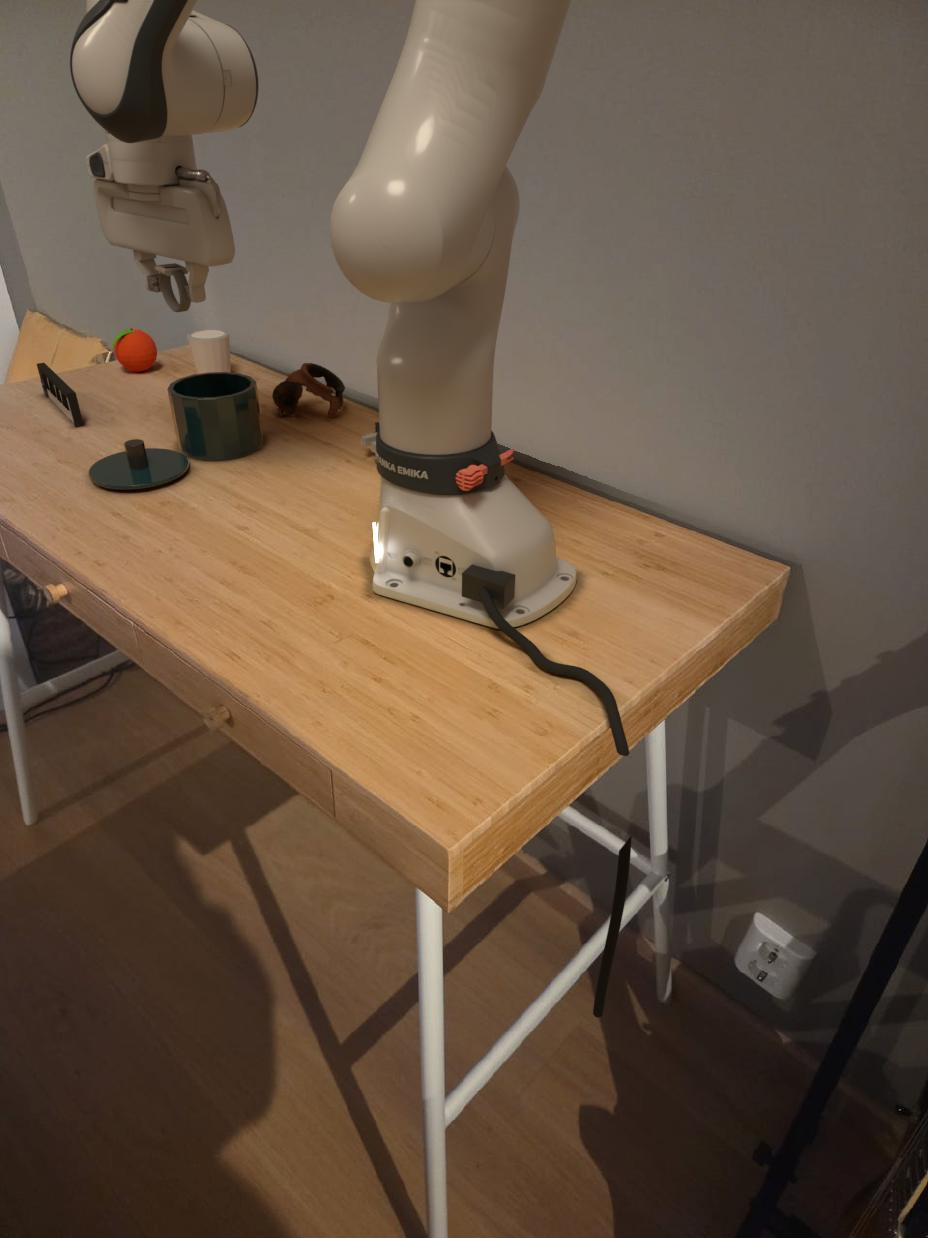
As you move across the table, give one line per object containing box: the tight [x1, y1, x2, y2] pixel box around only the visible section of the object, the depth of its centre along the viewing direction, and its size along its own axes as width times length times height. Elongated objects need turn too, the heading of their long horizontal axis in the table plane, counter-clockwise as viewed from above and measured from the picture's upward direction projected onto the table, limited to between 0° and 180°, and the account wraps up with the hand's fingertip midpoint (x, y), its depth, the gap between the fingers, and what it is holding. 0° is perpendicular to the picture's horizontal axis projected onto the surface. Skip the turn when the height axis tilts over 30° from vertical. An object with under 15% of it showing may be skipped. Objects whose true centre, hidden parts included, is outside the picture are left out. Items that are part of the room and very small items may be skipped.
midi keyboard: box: [36, 362, 85, 428], centre depth 126 cm, size 18×1×5 cm, turn 36°
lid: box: [88, 438, 190, 490], centre depth 106 cm, size 12×12×4 cm
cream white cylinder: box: [186, 328, 232, 374], centre depth 140 cm, size 7×7×7 cm
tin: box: [167, 371, 264, 462], centre depth 114 cm, size 11×11×8 cm
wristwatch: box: [155, 262, 192, 313], centre depth 98 cm, size 6×3×5 cm, turn 38°
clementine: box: [112, 328, 158, 372], centre depth 141 cm, size 8×7×7 cm
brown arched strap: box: [271, 362, 346, 419], centre depth 125 cm, size 12×10×8 cm
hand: (176, 295), depth 98 cm, fingers closed on wristwatch, 6 cm apart
